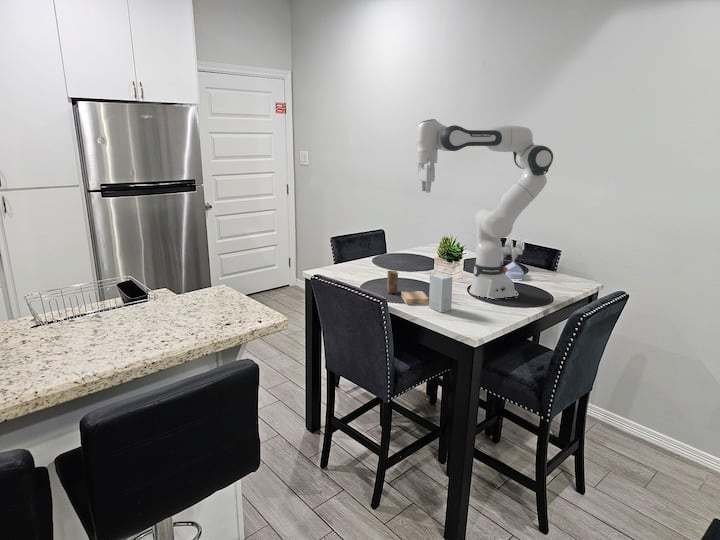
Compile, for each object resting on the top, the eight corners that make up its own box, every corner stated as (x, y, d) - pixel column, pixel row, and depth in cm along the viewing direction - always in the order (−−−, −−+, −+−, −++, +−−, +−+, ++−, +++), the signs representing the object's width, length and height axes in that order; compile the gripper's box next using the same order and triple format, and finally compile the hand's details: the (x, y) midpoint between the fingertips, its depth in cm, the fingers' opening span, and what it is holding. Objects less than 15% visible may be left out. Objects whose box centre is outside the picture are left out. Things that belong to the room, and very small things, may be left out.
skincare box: (451, 310, 203) (454, 277, 199) (440, 313, 200) (443, 279, 195) (437, 304, 210) (440, 272, 205) (427, 307, 206) (429, 273, 202)
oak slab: (422, 297, 219) (422, 291, 219) (428, 305, 210) (428, 298, 209) (400, 297, 218) (401, 291, 217) (405, 305, 209) (406, 299, 208)
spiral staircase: (475, 268, 283) (519, 269, 279) (476, 262, 266) (524, 263, 261) (476, 237, 286) (519, 238, 282) (477, 230, 269) (524, 231, 264)
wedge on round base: (503, 272, 261) (505, 279, 249) (504, 260, 259) (507, 267, 247) (520, 274, 260) (524, 281, 247) (522, 262, 258) (525, 268, 245)
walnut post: (395, 291, 225) (396, 270, 223) (396, 293, 222) (398, 273, 219) (386, 291, 225) (387, 270, 222) (388, 294, 221) (389, 273, 218)
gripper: (439, 158, 196) (438, 193, 199) (430, 159, 216) (429, 190, 219) (423, 159, 196) (422, 193, 199) (416, 159, 216) (415, 190, 219)
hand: (426, 191), depth 209 cm, fingers open, 8 cm apart
